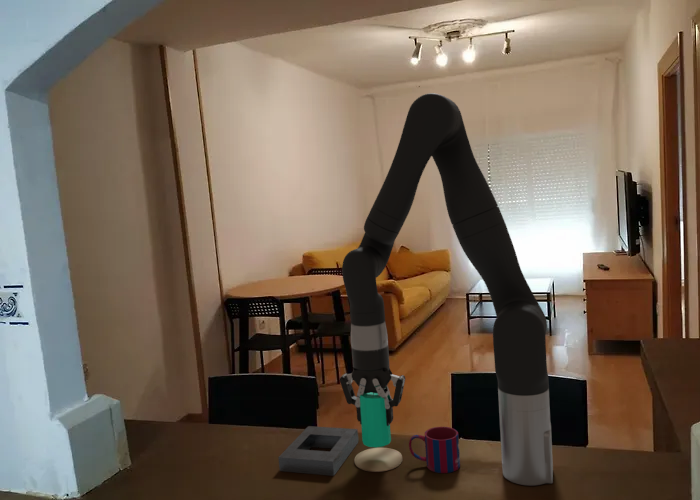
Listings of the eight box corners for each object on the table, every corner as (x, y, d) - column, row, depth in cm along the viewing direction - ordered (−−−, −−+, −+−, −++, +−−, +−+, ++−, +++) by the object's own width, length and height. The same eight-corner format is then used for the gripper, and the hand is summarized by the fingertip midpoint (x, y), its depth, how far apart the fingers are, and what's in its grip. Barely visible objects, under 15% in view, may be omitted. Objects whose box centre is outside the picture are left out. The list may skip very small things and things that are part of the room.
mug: (457, 474, 118) (455, 441, 117) (407, 471, 121) (405, 438, 120) (462, 459, 124) (460, 427, 123) (414, 456, 127) (412, 425, 127)
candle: (391, 434, 129) (387, 380, 127) (390, 447, 123) (386, 390, 121) (363, 435, 129) (359, 381, 128) (361, 447, 123) (357, 391, 122)
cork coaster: (407, 451, 130) (407, 449, 129) (395, 473, 120) (395, 471, 120) (362, 448, 133) (362, 446, 133) (348, 469, 123) (347, 467, 123)
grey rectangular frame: (358, 441, 136) (357, 429, 136) (333, 475, 121) (332, 461, 121) (309, 438, 140) (308, 426, 140) (279, 471, 125) (278, 457, 125)
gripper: (408, 339, 125) (413, 418, 127) (342, 338, 130) (348, 415, 132) (399, 349, 118) (404, 433, 120) (330, 348, 123) (336, 428, 124)
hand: (375, 423), depth 126 cm, fingers closed on candle, 4 cm apart
